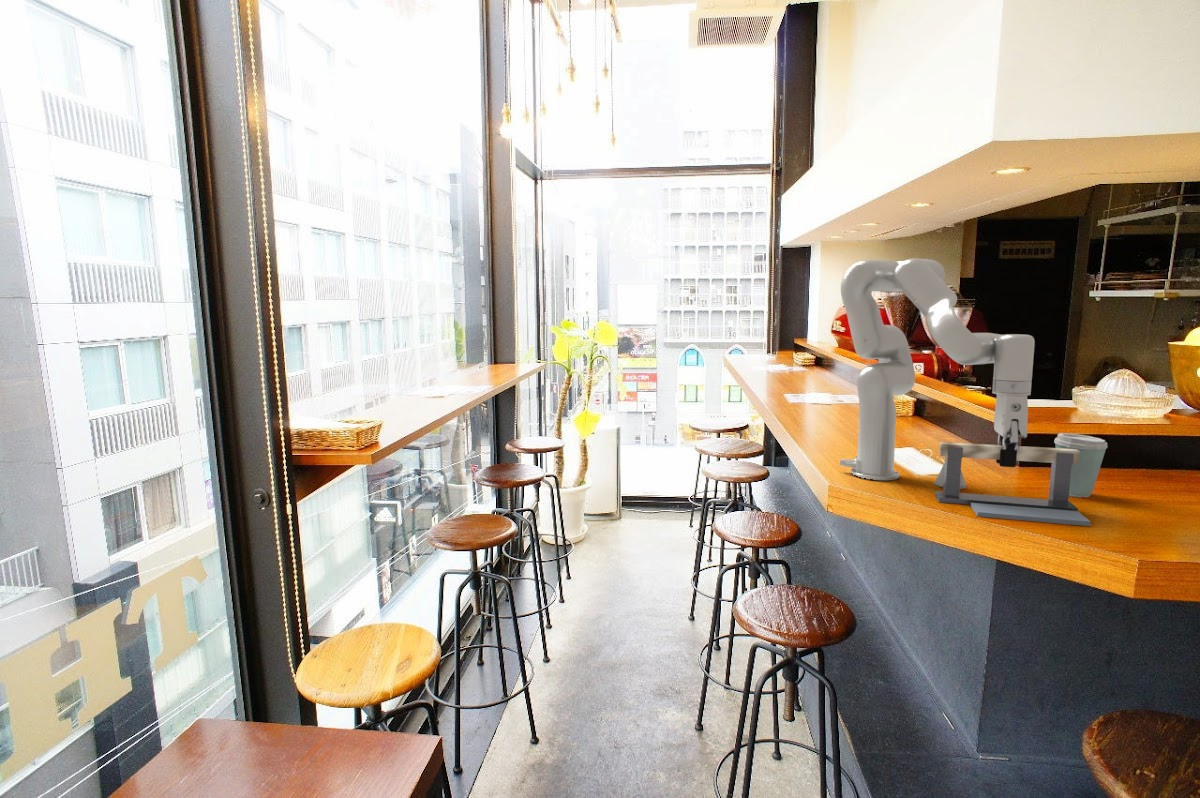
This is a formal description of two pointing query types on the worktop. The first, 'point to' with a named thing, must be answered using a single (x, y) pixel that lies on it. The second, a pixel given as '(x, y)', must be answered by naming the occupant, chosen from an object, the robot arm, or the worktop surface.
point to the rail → (1022, 452)
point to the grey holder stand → (1056, 496)
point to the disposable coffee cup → (1083, 461)
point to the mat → (1030, 514)
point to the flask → (940, 479)
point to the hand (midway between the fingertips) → (1005, 464)
